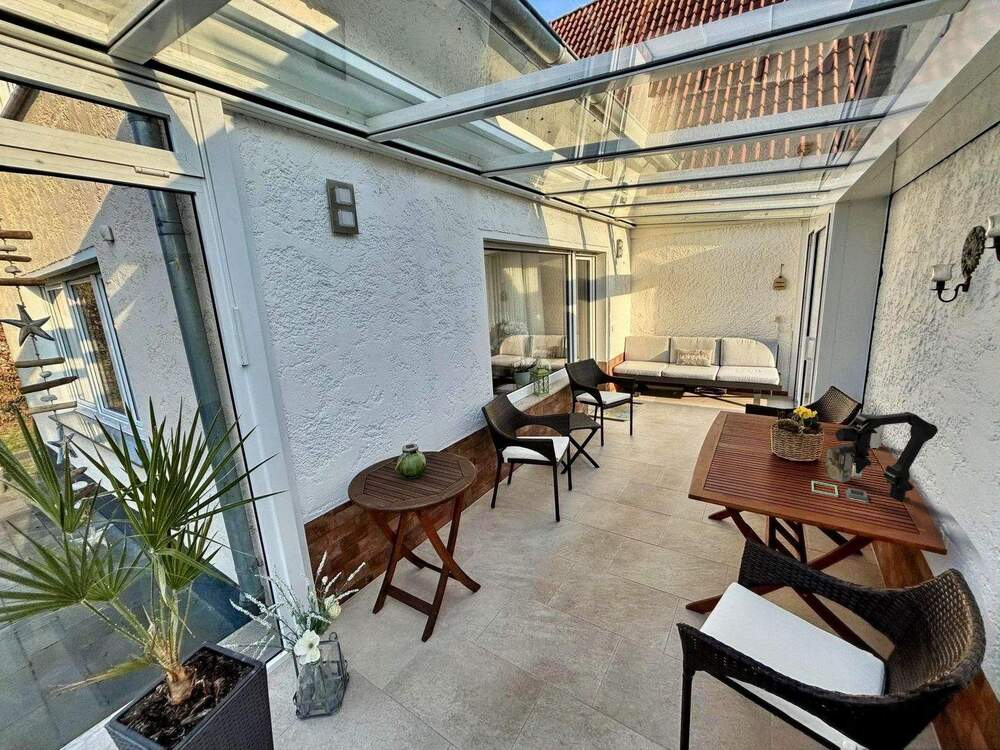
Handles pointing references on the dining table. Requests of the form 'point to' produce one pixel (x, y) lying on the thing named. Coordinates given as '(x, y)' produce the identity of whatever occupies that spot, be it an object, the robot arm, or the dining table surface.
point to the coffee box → (838, 465)
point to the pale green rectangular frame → (824, 492)
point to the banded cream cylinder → (854, 474)
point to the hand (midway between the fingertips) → (857, 471)
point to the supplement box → (877, 437)
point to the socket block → (857, 495)
